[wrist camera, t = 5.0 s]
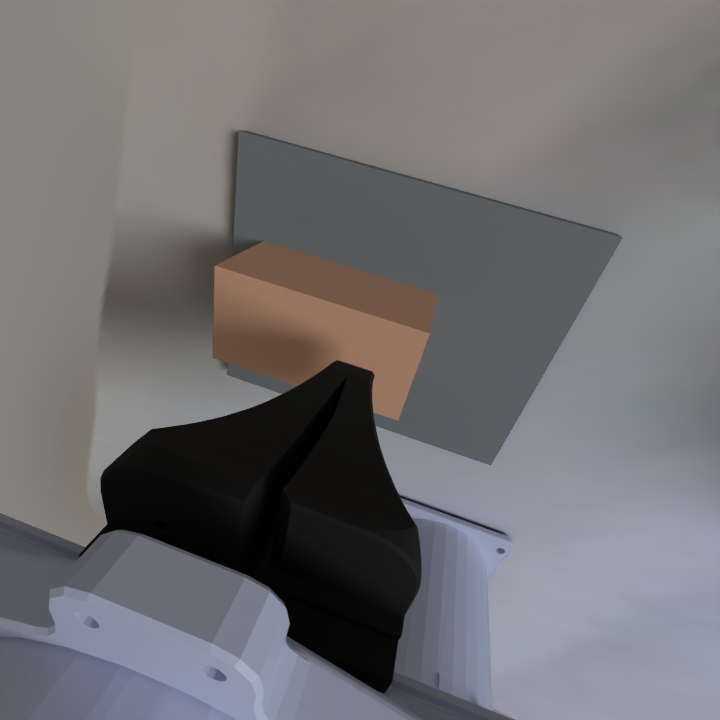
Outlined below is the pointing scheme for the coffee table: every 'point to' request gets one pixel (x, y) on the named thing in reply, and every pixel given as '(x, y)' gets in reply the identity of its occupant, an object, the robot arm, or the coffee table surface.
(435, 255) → the mat
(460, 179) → the coffee table surface
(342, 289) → the tall block
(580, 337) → the coffee table surface
